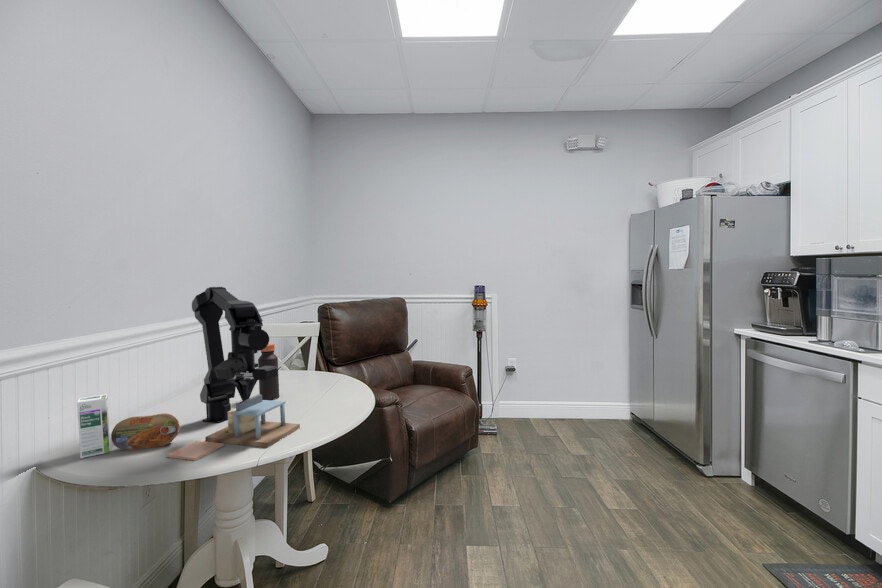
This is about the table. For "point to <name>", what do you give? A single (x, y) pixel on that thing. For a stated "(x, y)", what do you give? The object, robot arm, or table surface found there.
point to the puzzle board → (269, 435)
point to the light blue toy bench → (257, 412)
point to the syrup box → (93, 425)
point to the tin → (145, 432)
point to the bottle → (270, 386)
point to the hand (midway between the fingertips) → (245, 401)
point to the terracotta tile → (195, 450)
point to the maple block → (241, 423)
